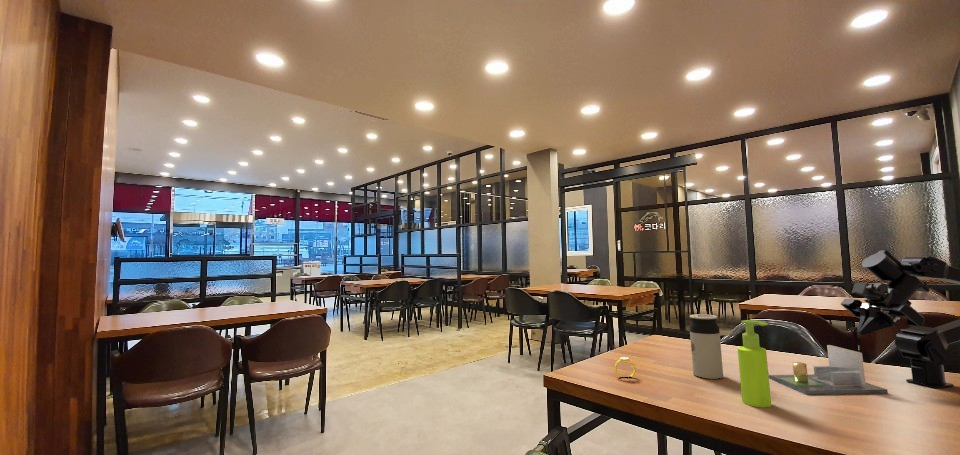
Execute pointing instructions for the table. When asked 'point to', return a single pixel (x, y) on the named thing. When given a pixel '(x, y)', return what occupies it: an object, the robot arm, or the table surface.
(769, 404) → the soap dispenser
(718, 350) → the travel mug
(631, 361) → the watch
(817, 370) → the grey bracket
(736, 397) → the table surface
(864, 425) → the table surface
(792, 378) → the base
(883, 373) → the table surface
